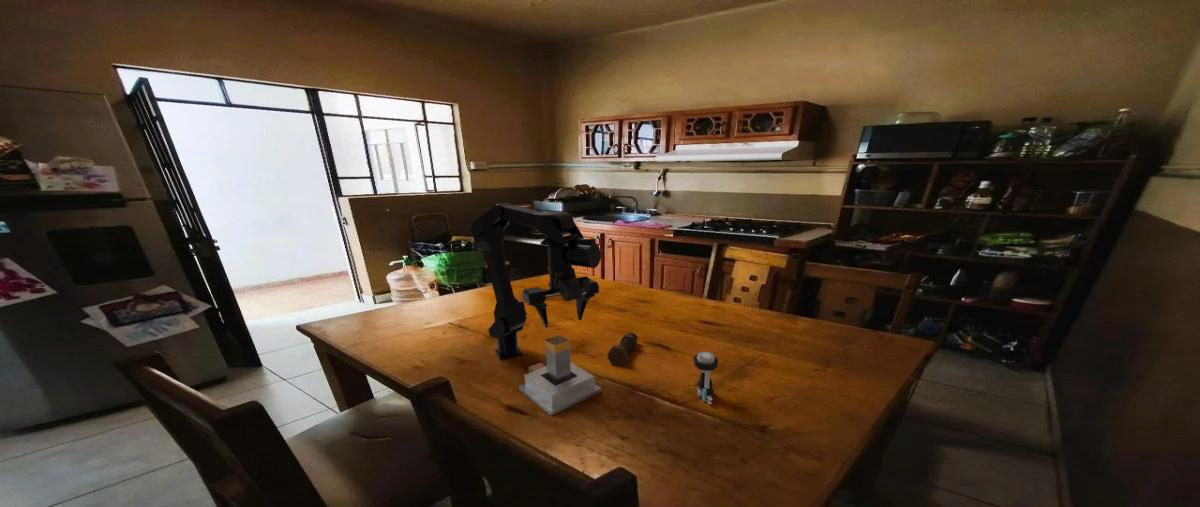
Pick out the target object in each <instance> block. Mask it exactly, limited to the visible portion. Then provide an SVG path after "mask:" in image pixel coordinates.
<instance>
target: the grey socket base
mask: <svg viewBox="0 0 1200 507" xmlns="http://www.w3.org/2000/svg"><path fill="white" fill-rule="evenodd" d="M570 365H571V379H570V380H568V381H566V382H563V383H561V384H559V385H556V386H555V385H553V384H552V383H550V382H549V381H548V380H547V365H545V364H544V363H542V362H539V363H535V364H533V365H530V366H528V373H526V374H524V384H521V385H519V386H518V390H520V391H521V393H523V394H524V395H525V396H526V397H528V398H529V400H531V401H533V402H534V403H535V405H537V406H538V407H540V408H541V409H542V410H543V411H545V413H547V414H548V415H550V417H552V416H554V415H556V414H558V413H560V412H562V411H564V410H566V409H568V408H571V407H572V406H574V405H577V404H579V403H581V402H582V401H585V400H587V399H589V398H591V397H593V396H595V395H597V394H599V393H600V392H602V387H600V386H598V385H597V384H596V383H595V376H594V375H592V374H591V373H589V372H588V371H586V370H584V369H583V368H582V367H579V366H578V365H576V364H575V363H573V362H571V361H570Z"/></svg>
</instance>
